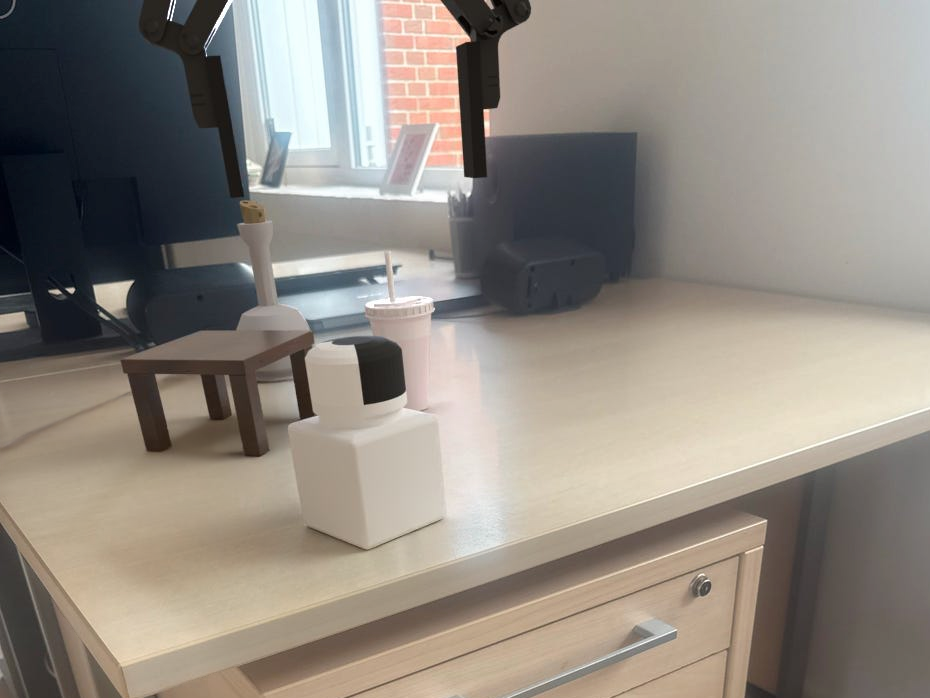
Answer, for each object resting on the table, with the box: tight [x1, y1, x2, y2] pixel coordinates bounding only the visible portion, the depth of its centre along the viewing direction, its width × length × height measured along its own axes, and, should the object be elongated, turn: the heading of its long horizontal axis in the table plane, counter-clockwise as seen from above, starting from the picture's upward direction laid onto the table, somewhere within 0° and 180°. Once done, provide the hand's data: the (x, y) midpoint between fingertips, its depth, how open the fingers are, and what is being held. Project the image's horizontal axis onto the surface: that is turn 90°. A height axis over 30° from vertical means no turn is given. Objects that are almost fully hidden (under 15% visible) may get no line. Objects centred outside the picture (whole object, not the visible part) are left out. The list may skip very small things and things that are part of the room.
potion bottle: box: [235, 199, 316, 383], centre depth 99 cm, size 9×9×18 cm
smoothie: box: [364, 250, 436, 412], centre depth 84 cm, size 6×6×14 cm
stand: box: [119, 329, 318, 457], centre depth 81 cm, size 12×12×8 cm
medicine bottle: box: [287, 335, 447, 551], centre depth 59 cm, size 7×7×12 cm
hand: (359, 187), depth 52 cm, fingers open, 13 cm apart
